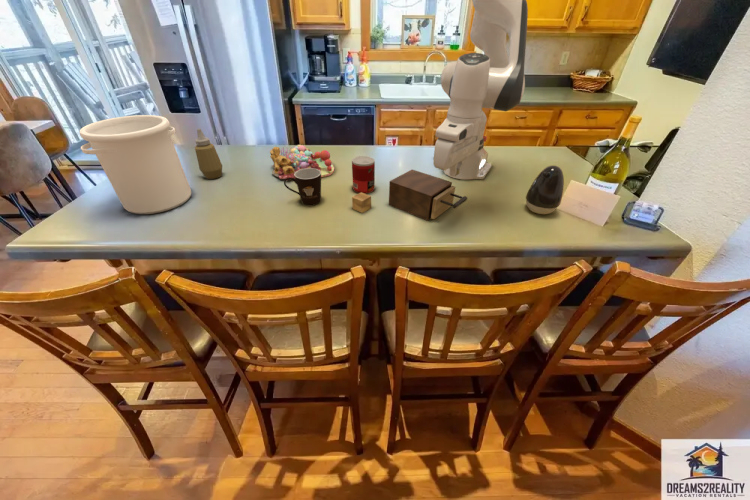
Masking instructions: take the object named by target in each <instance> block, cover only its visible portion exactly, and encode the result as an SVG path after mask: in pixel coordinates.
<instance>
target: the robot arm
mask: <svg viewBox="0 0 750 500" xmlns="http://www.w3.org/2000/svg"><path fill="white" fill-rule="evenodd" d="M472 5H473V7H474V12H473V18H472V24H471V28H470V35H469V36H470V37H469V39H470V41H471V43H472V44H473V45H474V46H475V47H476V48H477V49H478V50H480V51H481V52H483V53H480V52H470V53H464V54H462V55H460V56H459V57H458V58H457V60H455V61H454V60H453V61H449V62H448V63H447V64H446V65H445V66H444V68H443V69H442V71H441V75H440V87H441V88H442V91H443V92H444V93H445V94H446V95H447V96H448V97H449V99H450V102H449V107H448V109H447V112H446V113H447V114H446V118H445V119H444V120H443V122H442V123H441V124H440V125H439V126H438V127H437V128H436V130H435V138H437V139H436V140H435V143H434V151H433V166H434V168H435V169H439V170H442V171H443V173H444V175H447V176H448V177H450V178H453V179H456V180H457V179H458V180H484V179H485V177H486V176H487V174H488V173H489V172H490V170H491V169H492V163H490V162H488V157H489V153H488V151H487V150H486V149H485V148H484V146H485V145H484V144H485V142H487V140H488V136H486V135H485V130H486V126H487V121H488V119H487V115H486V113H485V111H483V108H484V109H493V110H495V111H496V110H497V111H501V112H508V111H510V110H512V109H514V108H515V107H516V106H518V105H519V104H520V103H521V100H522V99H523V96H524V93H525V89H526V78H525V61H526V48H527V37H528V36H527V35H528V18H529V17H528V16H529V14H528V12H529V7H528V1H527V0H472ZM507 35H508V38H509V43H508V50H507Z"/></svg>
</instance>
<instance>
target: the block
mask: <svg viewBox="0 0 750 500" xmlns="http://www.w3.org/2000/svg"><path fill="white" fill-rule="evenodd" d="M351 205H352V210H355V211H356V212H359V213H361V214H364V213H366V212H367V211H369V210H370V209H372V195H369V194H368V193H365V194H364V193H362V192H361V193H357V194H355V195H352V196H351Z"/></svg>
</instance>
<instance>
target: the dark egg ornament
mask: <svg viewBox="0 0 750 500" xmlns="http://www.w3.org/2000/svg"><path fill="white" fill-rule="evenodd" d="M564 184H565V177H564V172H563V170H562V168H561V167H559V166H558V165H548V166H546V167H545V168H544V169H542V170H541V171H540V172H539V174H538V175H537V176H536V177H535V179H534V180H533V181H532V183H531V185H530V187H529V188H528V191H527V192H526V194H525V201H526V203H525V204H526V207H527V208H528V209H529V210H530V212H532V213H535V214H537V215H548V214H551V213H553V212H555V210H556V209H557V208H558V207H560V205H561V203H562V199H563V194H564V186H565V185H564Z"/></svg>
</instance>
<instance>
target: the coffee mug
mask: <svg viewBox="0 0 750 500" xmlns="http://www.w3.org/2000/svg"><path fill="white" fill-rule="evenodd" d="M294 176H295V179H294V178H286V179H283V185H284V187H285V188H286V189H288V190H289V191H291V192H292V193H295V194H297V195H298V196H299V198H300V200H301V203H302V205H304V206H309V207H311V206H316V205H318V204H320V203H321V201H322V177H321V171H320V170H318V169H314V168H305V169H301V170H298V171H296V172H295V173H294ZM289 179H290V180H291V181H293V183H294V184H296V187H297V190H298V191H296V190H295V189H292V188H291V187H289V186H288V185H287V183H286V182H288V181H290V180H289ZM287 180H288V181H287Z"/></svg>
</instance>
